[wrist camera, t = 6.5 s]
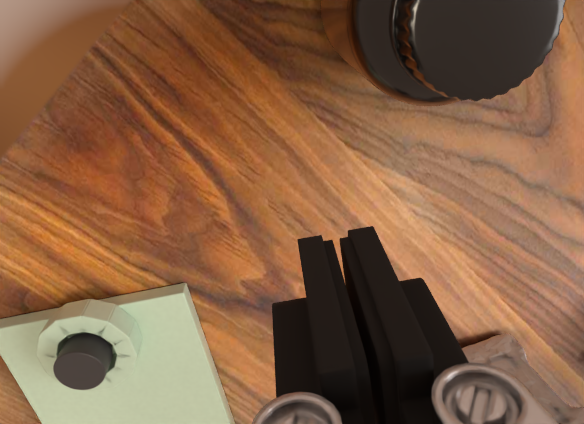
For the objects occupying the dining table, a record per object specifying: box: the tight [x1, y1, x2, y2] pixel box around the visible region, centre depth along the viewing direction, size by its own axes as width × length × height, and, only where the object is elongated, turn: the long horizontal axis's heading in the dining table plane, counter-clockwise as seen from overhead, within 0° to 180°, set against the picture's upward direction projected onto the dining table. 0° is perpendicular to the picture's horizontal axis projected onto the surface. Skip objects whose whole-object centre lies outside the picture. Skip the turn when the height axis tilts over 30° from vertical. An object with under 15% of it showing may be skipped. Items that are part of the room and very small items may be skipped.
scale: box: [0, 283, 235, 424], centre depth 33 cm, size 17×13×3 cm
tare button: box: [53, 333, 113, 390], centre depth 29 cm, size 3×3×2 cm
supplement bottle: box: [321, 0, 565, 106], centre depth 19 cm, size 7×7×12 cm
